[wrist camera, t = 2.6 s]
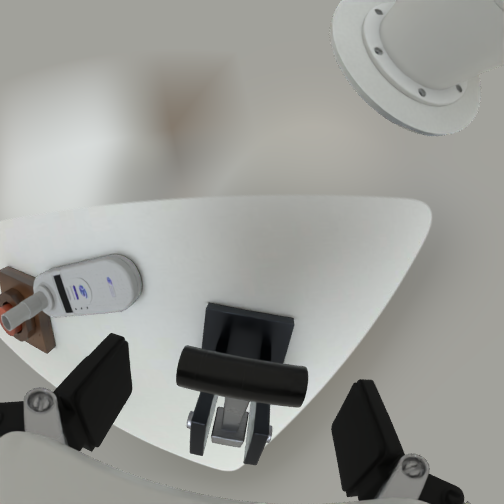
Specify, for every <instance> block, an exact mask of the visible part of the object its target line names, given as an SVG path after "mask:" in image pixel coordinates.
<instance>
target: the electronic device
mask: <svg viewBox="0 0 504 504" xmlns="http://www.w3.org/2000/svg"><path fill="white" fill-rule="evenodd" d="M33 290H34V294H33V295H32V296H30V297H28V298H26V299H25V300H23V301H21V302H20V304H18V305H17V306H15V307H13V308H12V309H10V310H9V311H7V312H5V313H4V314H2V315H1V320H2V323H3V325H4V327H5V328H6V329H7V330H8V331H12V330H13V329H14V328H16V327H17V326H19V325H20V324H21V323H23V322H24V321H26V320H27V319H31V318H32V317H34V316H35V315H37V314H38V313H39V312H40V311H42V310H43V312H44V313H46V314H47V315H49V316H51V317H67V316H80V315H92V314H102V313H112V312H122V311H124V310H126V309H127V308H129V307H130V306H131V305H132V304H133V303H134V302H135V301H136V300H137V299H138V297H139V296H140V294H141V290H142V282H141V278H140V274H139V272H138V270H137V268H136V266H135V265H134V263H133V262H132V261H131V260H129V259H128V258H126V257H124V256H122V255H117V254H113V255H108V256H104V257H100V258H95V259H91V260H86V261H82V262H78V263H73V264H69V265H65V266H61V267H57V268H53V269H49V270H47V271H45V272H43V273H41V274H39V275H38V276H36V278H35V280H34V285H33Z"/></svg>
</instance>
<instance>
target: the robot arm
mask: <svg viewBox="0 0 504 504" xmlns="http://www.w3.org/2000/svg"><path fill="white" fill-rule="evenodd" d="M362 38H363V43H364V46H365V48H366V51H367V53H368V55H369V57H370V59H371V60H372V62H373V64H374V65H375V66H376V68H377V69H378V70H379V72H380V73H381V74H382V75H383V76H384V77H385V78H386V79H387V80H388V81H389V82H390V83H391V84H392V85H393V86H394V87H395V88H397V89H398V90H399V91H400V92H402V93H403V94H405V95H406V96H408V97H410V98H411V99H414V100H416V101H418V102H420V103H423V104H426V105H429V106H446V105H449V104H452V103H455V102H456V101H458V100H459V99H460V98H461V97H462V96H463V95H464V93H465V91H466V88H467V83H468V79H470V78H473V77H475V76H478V75H480V74H482V73H485V72H487V71H490V70H492V69H495V68H497V67H500V66H502V65H504V0H396V2H385V3H380V4H378V5H376V6H374V7H373V8H372V9H371V10H369V11H368V13H367V15H366V16H365V18H364V21H363V24H362ZM131 392H132V380H131V371H130V360H129V348H128V342H127V341H125V338H124V337H122V336H119V335H116V334H113V333H111V334H109V335H108V336H107V337H106V338H105V339H104V340H103V341H102V342H101V343H100V344H99V345H98V347H97V348H96V349H95V350H94V351H93V352H92V353H91V354H90V355H89V356H87V357H86V358H84V359H83V361H82V362H81V363H80V364H79V365H78V366H77V367H76V368H75V369H74V370H73V371H72V372H71V373H70V374H69V375H68V376H67V378H66V379H65V380H64V381H63V382H62V383H61V384H60V385H59V386H58V387H57V388H56V390H55V391H54V392H52V391H51V390H49V389H46V388H34V389H32V390H30V391H29V392H27V393H26V395H25V397H24V401H19V402H7V403H6V402H5V403H0V504H271V503H258V502H249V501H240V500H232V499H226V498H220V497H213V496H209V495H204V494H198V493H194V492H190V491H186V490H182V489H178V488H174V487H170V486H167V485H163V484H160V483H156V482H153V481H150V480H147V479H144V478H141V477H139V476H136V475H133V474H130V473H128V472H125V471H123V470H120V469H118V468H115V467H112V466H110V465H108V464H105V463H103V462H101V461H99V460H96V459H94V458H92V457H90V456H88V455H86V454H84V453H82V452H79V451H80V450H81V449H82V448H85V449H87V450H89V451H93V449H94V448H95V447H99V446H100V444H101V443H102V441H103V439H104V438H105V436H106V434H107V432H108V431H109V429H110V428H111V426H112V424H113V423H114V421H115V419H116V418H117V416H118V414H119V413H120V411H121V409H122V408H123V406H124V405H125V403H126V401H127V400H128V398H129V396H130V395H131ZM331 430H332V436H333V441H334V446H335V451H336V457H337V462H338V468H339V473H340V479H341V485H342V490H343V491H346V494H347V497H353V496H358V500H359V501H354V502H344V503H329V504H470V503H469V502H468V501H467V502H466V503H464V495H463V492H462V490H461V489H460V488H459V487H457V486H455V485H453V484H450V483H448V482H446V481H444V480H441V479H439V478H437V477H435V476H433V475H431V474H429V470H430V468H429V464H428V462H427V461H426V459H425V458H424V457H422V456H420V455H417V454H407V455H405V454H404V452H403V449H402V446H401V444H400V441H399V439H398V436H397V434H396V432H395V429H394V427H393V424H392V422H391V420H390V417H389V415H388V413H387V411H386V408H385V406H384V404H383V402H382V399H381V397H380V395H379V393H378V390H377V388H376V386H375V384H374V382H373V380H361V379H360V380H358V381H357V383H354V384H353V386H352V388H351V390H350V392H349V394H348V396H347V398H346V399H345V401H344V403H343V405H342V407H341V409H340V411H339V413H338V414H337V416H336V418H335V420H334V422H333V424H332V429H331Z"/></svg>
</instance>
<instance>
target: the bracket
mask: <svg viewBox="0 0 504 504" xmlns="http://www.w3.org/2000/svg"><path fill="white" fill-rule="evenodd" d="M293 328H294V318H290V317H284V316H278V315H272V314H266V313H260V312H255V311H249V310H244V309H239V308H233V307H228V306H223V305H218V304H214V303H209V304H208V306H207V307H206V314H205V323H204V332H203V342H202V349H205V350H210V351H214V352H219V353H224V354H229V355H234V356H239V357H245V358H250V359H256V360H262V361H269V362H275V363H282V364H283V362H284V359H285V356H286V352H287V349H288V345H289V342H290V338H291V335H292V331H293ZM217 399H218V395H213V394H209V393H204V392H200V395H199V398H198V401H197V404H196V407H195V410H194V412H193V411H190V413H189V416H188V420H187V428H189V429H190V453H191V454H196V455H200V456H203V453H204V449H205V446H206V442H207V438H208V434H209V430H210V426H211V422H212V418H213V414H214V410H215V406H216V403H217ZM269 422H270V404H264V403H257V402H251V404H250V412H249V421H248V429H247V438H246V446H245V454H244V462H243V463H244V464H251V465H257V463H258V461H259V458H260V456H261V453H262V451H263V449H264V446H265V444H266V443H269V442H270V440H271V436H272V426H270V425H269Z"/></svg>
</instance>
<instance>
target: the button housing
mask: <svg viewBox="0 0 504 504" xmlns="http://www.w3.org/2000/svg"><path fill="white" fill-rule="evenodd" d="M34 280H35V277H32V276H30V275H27V274H25V273H23V272H20V271H18V270H15V269H13V268H11V267H9V266H8V267H5V268H3V269H1V270H0V286H1V292H2V294H0V307H1V306H3V305H5V304H7V303H10V304H11V305H12V306H13V307H15V306H17V305H18V304H20V302H21V301H23V300H25V299H26V298H28V297H30V296H32V295H33V294H34V290H33V285H34ZM21 324H22V329H21V330H20V331H19V332H18V333H16V334H15V335H13V336H14V337H15V338H16V339H18V340H19V341H26V342H28V343H29V344H31V345H33V346H34V347H36V348H38V349H40V350H41V351H43V352H45V353H47V354H48V353H49V352H50V351H51V350H52V349H53V348H54V347H55V346H56V345H55V340H54V336H53V331H52V326H51V321H50V316H49V315H47V314H46V313H44V312H43V310H42V311H40V312H39V313H38V314H37V315H35V316H34V317H32V318H31V319H27V320H26V321H24V322H23V323H21Z"/></svg>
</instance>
